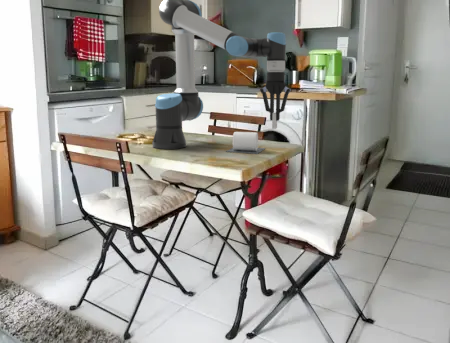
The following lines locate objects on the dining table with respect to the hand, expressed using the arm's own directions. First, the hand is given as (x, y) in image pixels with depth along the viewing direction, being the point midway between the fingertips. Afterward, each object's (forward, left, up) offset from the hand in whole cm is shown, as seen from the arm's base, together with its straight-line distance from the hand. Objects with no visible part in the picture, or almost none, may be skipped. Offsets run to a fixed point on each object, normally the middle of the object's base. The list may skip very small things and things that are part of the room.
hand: (274, 128), depth 190 cm
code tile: (-12, 0, -10) cm, 16 cm away
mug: (-12, 0, -10) cm, 16 cm away
